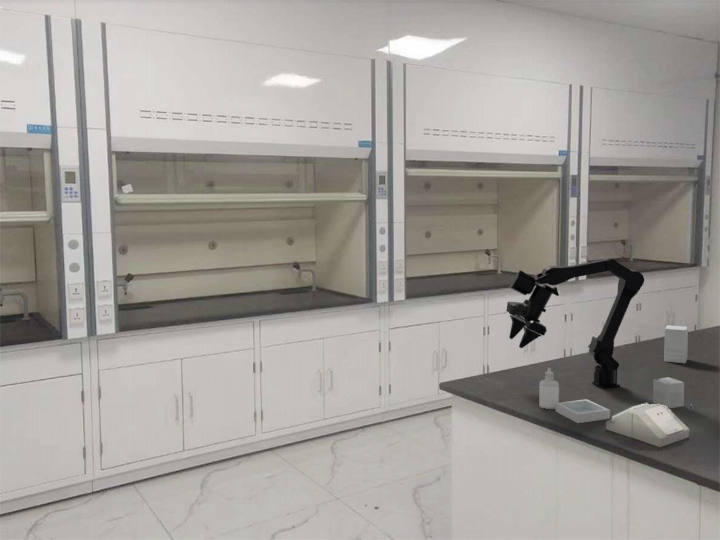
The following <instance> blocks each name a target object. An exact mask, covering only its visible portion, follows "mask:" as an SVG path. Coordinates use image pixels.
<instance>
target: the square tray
mask: <svg viewBox="0 0 720 540" xmlns="http://www.w3.org/2000/svg"><path fill="white" fill-rule="evenodd" d="M557 412H558V414H560V415H561V416H563V417H565V418H566V419H567V418H568V420H571V421H572V422H574V423H576V424H581V423H582V424H583V423H590V422H596V421H604V420H609V419H611V409H609V408H607V407H604V406H602V405H600V404H598V403H595V402H593V401H592V400H589V399H588V398H585V399H577V400H571V401H570V400H569V401H561V402H559V403H556V409H555V413H557Z"/></svg>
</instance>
